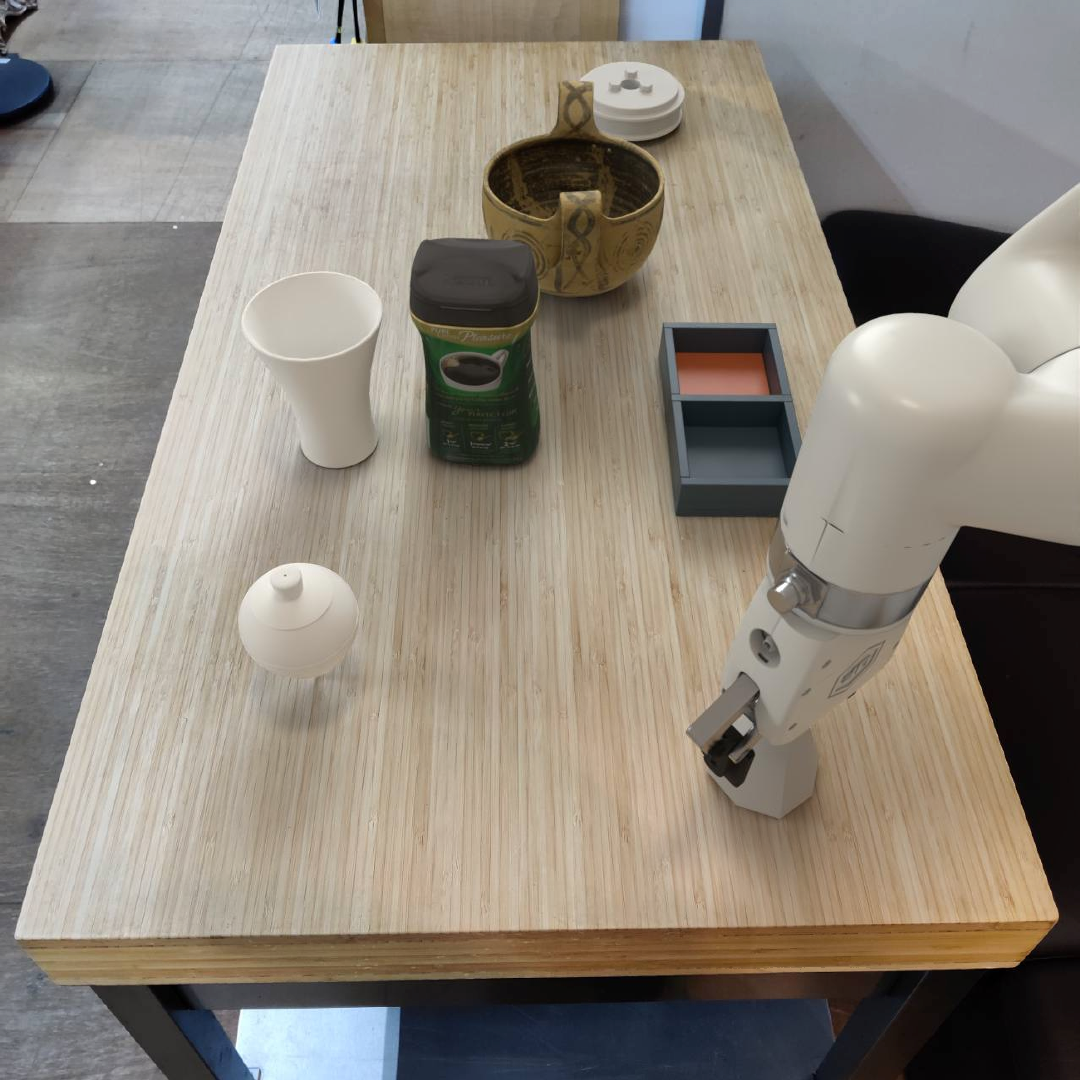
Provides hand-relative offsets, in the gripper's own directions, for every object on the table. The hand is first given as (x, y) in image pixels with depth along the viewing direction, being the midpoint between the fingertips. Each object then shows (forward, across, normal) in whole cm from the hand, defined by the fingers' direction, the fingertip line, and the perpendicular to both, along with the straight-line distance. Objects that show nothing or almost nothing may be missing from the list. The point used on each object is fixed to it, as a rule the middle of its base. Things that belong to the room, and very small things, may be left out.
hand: (778, 722), depth 61 cm
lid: (+6, +47, +68) cm, 83 cm away
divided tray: (+6, +20, +24) cm, 32 cm away
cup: (+6, -7, +43) cm, 44 cm away
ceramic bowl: (+6, +23, +49) cm, 54 cm away
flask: (+6, 0, 0) cm, 6 cm away
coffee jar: (+6, +3, +36) cm, 37 cm away
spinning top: (+6, -20, +24) cm, 32 cm away
